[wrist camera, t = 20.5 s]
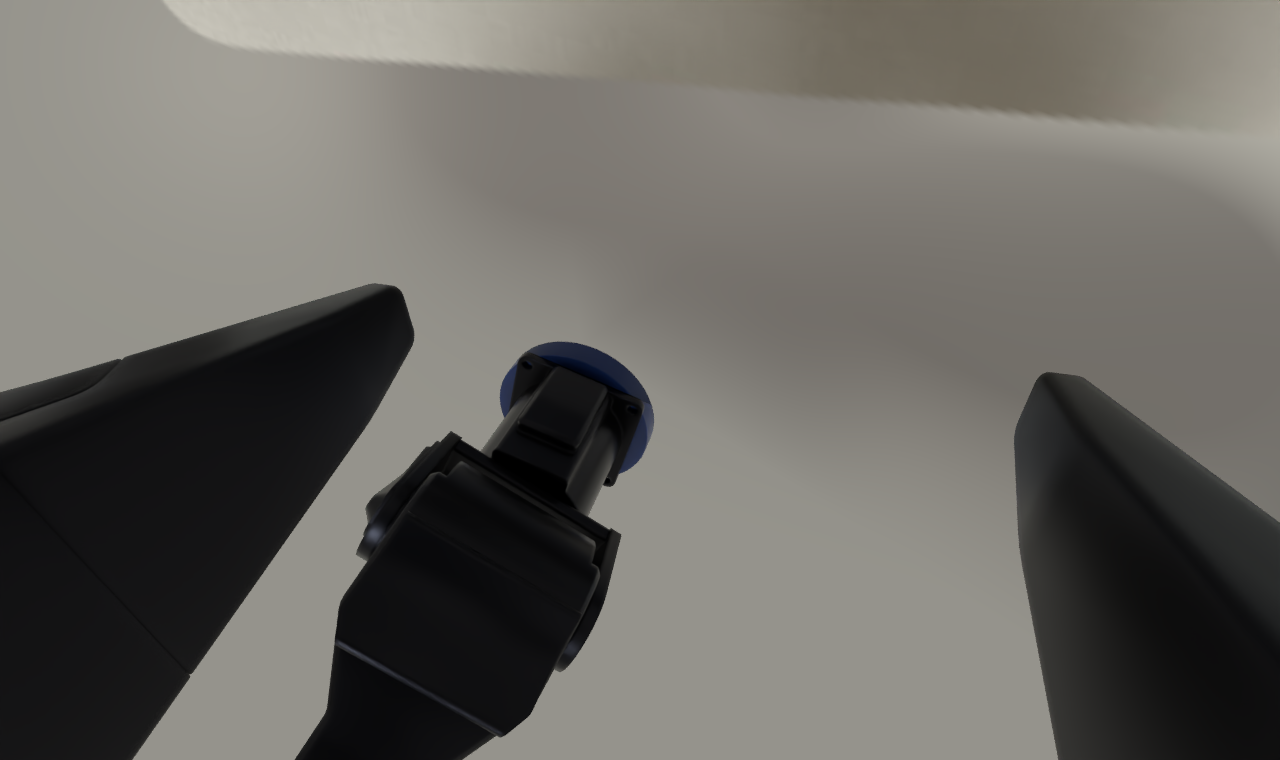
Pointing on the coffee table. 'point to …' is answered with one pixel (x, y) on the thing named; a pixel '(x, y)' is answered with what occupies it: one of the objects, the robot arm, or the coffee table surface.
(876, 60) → the coffee table surface
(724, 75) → the coffee table surface
